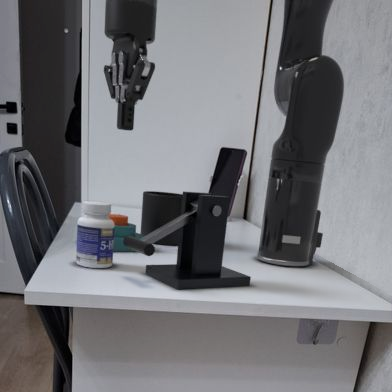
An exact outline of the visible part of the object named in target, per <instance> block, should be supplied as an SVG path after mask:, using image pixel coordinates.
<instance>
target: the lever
mask: <svg viewBox="0 0 392 392" xmlns="http://www.w3.org/2000/svg"><path fill="white" fill-rule="evenodd" d="M190 205H191V208H192V210H190V211H189V212H187V213H185V214H183V215H181V216H180V217H178V218H176V219H174V220H173V221H171V222H169V223H167V224H166V225H164V226H162V227H160V228H159V229H157V230H155V231H153V232H151V233H150V234H148V235H146V236H144V237H143V238H141V239H137V238H134V237H132V236H126V237H125V238H124V240H123V244H124V246H125V247H128V248H130V249H132V250H135V251H134V252H137V253H140V254H142V255H144V256H146V257H151V256H153V255H154V254H155V252H156V248H155V246H154V244H155V243H154V242H156V241H158V240H160V239H161V238H163V237H165V236H167V235H168V234H170V233H172V232H174V231H175V230H177V229H179V228H181V227H182V226H184V225H186V224H187V223H189V222H191V221H193V220H194V219H197V209H198V199H197V200H195V201H193V202H192V203H190Z"/></svg>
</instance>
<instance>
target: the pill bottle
mask: <svg viewBox="0 0 392 392" xmlns="http://www.w3.org/2000/svg"><path fill="white" fill-rule="evenodd" d="M81 209H82V213H83V216H81V217H79V218H78V219H77V223H76V224H77V225H76V249H75V250H76V251H75V253H76V255H75V261H76V264H77V265H79V266H81V267H84V268H85V267H86V268H92V269H106V268H110V267H112V266H113V262H114V261H113V260H114V251H113V245H114V222H113V221H112V220H111V219H109V215H110V214H111V213H112V204H111V203H109V202H105V201H104V202H103V201H94V200H93V201H90V200H85V201H84V200H83V201H82V208H81Z"/></svg>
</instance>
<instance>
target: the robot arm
mask: <svg viewBox="0 0 392 392" xmlns="http://www.w3.org/2000/svg"><path fill="white" fill-rule="evenodd" d="M283 2H284V4H283V23H282V31H281V37H280V43H279V45H280V46H279V51H278V58H277V65H276V70H275V77H274V85H273V95H274V101H275V105H276V106H277V109H278V110H279V112H280V113H281V114H282V115H283V116H284V117H285V122H284V126H283V129H282V131H281V133H280V135H279V136H278V138H277V139H276V140H275V141H274V143H273V145H272V148H271V149H272V150H271V156H270V162H269V171H268V178H267V185H266V192H265V199H264V206H263V214H262V221H261V228H260V234H259V235H260V236H259V244H258V250H257V253H256V259H257V260H259V261H260V262H263V263H268V264H271V265H277V266H284V267H285V266H286V267H306V266H309V265H313V261H314V255H315V253H316V251H317V248H319V249H320V248H321V247H322V241H323V236H324V235H323V234H324V233H323V232H319V226H320V221H321V215H322V212H321V210H319V202H320V197H321V192H322V184H323V179H324V178H323V177H324V173H325V168H326V166H325V164H326V161H327V157H328V155H329V152H330V150H331V149H332V147H333V144H334V142H335V139H336V138H335V137H336V133H337V129H338V124H339V120H340V115H341V111H342V106H343V102H344V101H343V100H344V92H345V79H344V73H343V71H342V68H341V65H339V63H338V62H337V61H336V60H335V59H334V58H332V57H331V56H328V55H326V54H323V46H324V45H323V44H324V34H325V30H326V24H327V20H328V18H329V14H330V11H331V8H332V6H333V3H334V0H284V1H283ZM104 8H105V9H104V10H105V11H104V30H103V31H104V35H105V37H106V38H108V39H110V40H111V41H112V42H113V44H112V50H111V53H110V54H111V59H110V60H111V63H110V65H108V64H105V65H104V66H103V73H104V77H105V81H106V85H107V88H108V92H109V96H110V99H112V100H115V103H116V104H117V111H116V112H117V114H116V116H117V117H116V128H117V130H120V131H131V132H132V131H134V126H135V111H136V110H135V109H136V108H135V107H136V105H137V104H138V102H139V101H143V100H144V97H145V94H146V92H147V90H148V87H149V85H150V82H151V79H152V77H153V75H154V72H155V69H156V64H155V62H152V61H149V60H148V58H147V57H148V47H147V45H151V44H153V43H154V42H155V40H156V30H157V28H156V26H157V13H158V0H105V5H104Z"/></svg>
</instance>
